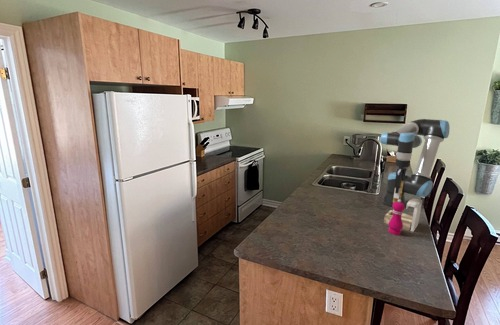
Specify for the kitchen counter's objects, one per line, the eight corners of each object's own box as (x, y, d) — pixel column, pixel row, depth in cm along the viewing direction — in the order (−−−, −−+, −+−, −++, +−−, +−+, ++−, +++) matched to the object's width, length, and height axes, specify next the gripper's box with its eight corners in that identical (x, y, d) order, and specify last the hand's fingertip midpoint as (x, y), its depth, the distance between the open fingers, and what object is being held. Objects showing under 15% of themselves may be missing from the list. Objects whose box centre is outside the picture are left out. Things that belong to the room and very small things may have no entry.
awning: (407, 222, 167) (411, 197, 163) (418, 224, 163) (422, 200, 160) (402, 228, 158) (406, 203, 155) (413, 231, 155) (417, 205, 151)
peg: (400, 202, 164) (404, 180, 161) (399, 204, 161) (402, 182, 158) (393, 201, 166) (397, 179, 163) (391, 202, 164) (395, 180, 160)
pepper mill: (394, 236, 149) (399, 202, 145) (384, 230, 156) (389, 197, 151) (404, 234, 151) (410, 201, 146) (394, 228, 158) (399, 196, 153)
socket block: (389, 216, 174) (390, 209, 173) (414, 223, 165) (415, 216, 163) (383, 222, 165) (384, 215, 164) (409, 230, 156) (410, 222, 155)
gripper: (400, 156, 166) (394, 192, 171) (392, 160, 154) (386, 198, 159) (413, 158, 161) (407, 195, 167) (406, 162, 149) (400, 202, 154)
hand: (397, 196), depth 163 cm, fingers closed on peg, 4 cm apart
